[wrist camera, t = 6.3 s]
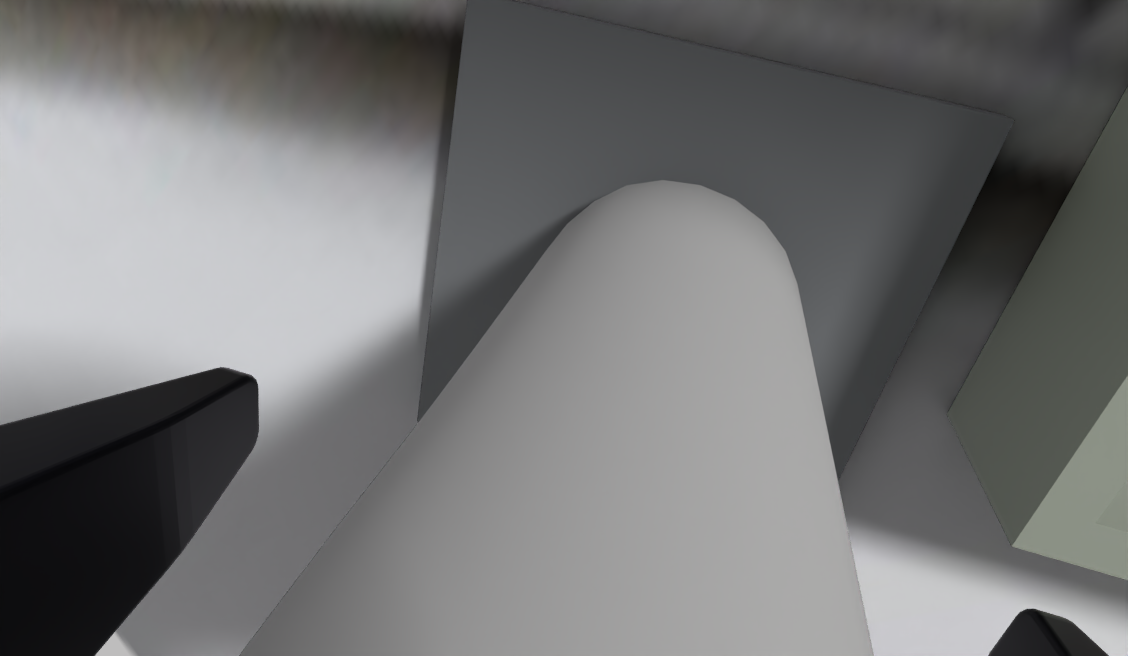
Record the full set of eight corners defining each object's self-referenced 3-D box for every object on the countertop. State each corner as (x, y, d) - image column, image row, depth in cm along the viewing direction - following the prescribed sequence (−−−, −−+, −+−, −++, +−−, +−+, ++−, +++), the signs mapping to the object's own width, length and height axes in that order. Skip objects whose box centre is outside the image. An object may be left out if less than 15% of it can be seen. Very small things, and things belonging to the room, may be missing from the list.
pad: (807, 522, 16) (810, 538, 15) (425, 409, 17) (417, 421, 16) (1003, 114, 11) (1014, 120, 11) (477, -9, 12) (468, -8, 12)
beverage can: (817, 386, 14) (1098, 1763, 3) (582, 422, 15) (221, 1425, 5) (768, 139, 12) (1016, 1305, 1) (508, 208, 13) (-332, 1010, 3)
